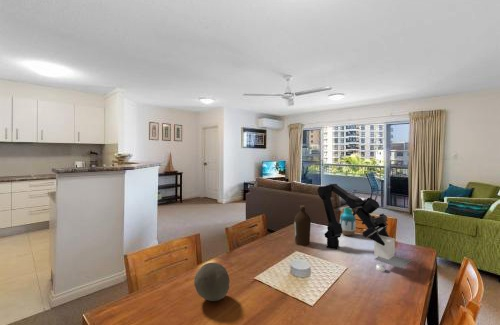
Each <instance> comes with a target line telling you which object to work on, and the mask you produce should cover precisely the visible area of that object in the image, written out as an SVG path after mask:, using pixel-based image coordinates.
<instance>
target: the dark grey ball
mask: <svg viewBox="0 0 500 325" xmlns="http://www.w3.org/2000/svg"><path fill="white" fill-rule="evenodd" d="M193 281H194V282H193V284H194V288H195V290H196V292H197V294H198V296H200V297H201V298H202V299H204V300H207V301H208V302H209V301H210V302H219V301H220V300H222V299H224V298H225V297H226V296H227V294H228V293H229V290H230V282H231V281H230V276H229V273H228V271H227V268H226V267H225V266H223V265H222V264H221V263H218V262H208V263H207V262H206V263H205V264H203V265H202V266H201V267H199V269H198V270H197V271H196V274H195V275H194V280H193Z"/></svg>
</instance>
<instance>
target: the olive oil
mask: <svg viewBox="0 0 500 325" xmlns="http://www.w3.org/2000/svg"><path fill="white" fill-rule="evenodd" d="M293 219H294V222H293V224H294V243H295V244H296V245H298V246H302V247H303V246H309V245H310V242H311V240H310V239H311V223H312V222H311V221H312V220H311V216H310V215H309V214H308V213H307V212H306V206H305V205H299V212H297V213H296V215H295V216H294V218H293Z"/></svg>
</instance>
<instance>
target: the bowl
mask: <svg viewBox="0 0 500 325" xmlns="http://www.w3.org/2000/svg"><path fill="white" fill-rule="evenodd" d="M375 269H376V271H377V272H379V273H385V272H386V266H385V265H384V264H380V263H379V264H378V263H377V264H376V266H375Z"/></svg>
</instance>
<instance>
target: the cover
mask: <svg viewBox="0 0 500 325" xmlns="http://www.w3.org/2000/svg"><path fill="white" fill-rule="evenodd" d="M379 236H380V237H381V239H382V240H383V242H384V243H385V245H384V246H383V245H381V244H379V243H378V242H376V241H374V240H373V241H374V242H373V244H374V248H373V255H374V256H375V257H378V256H379V257H382V258H385V259H390V258H392V257H393V256H394V255H395V253H396V252H395V250H396V248H395V247H396V246H395V243H396V242H395V241H396V239H395V238H394V237H391V236H389V237H387V236H383V235H379Z"/></svg>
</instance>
